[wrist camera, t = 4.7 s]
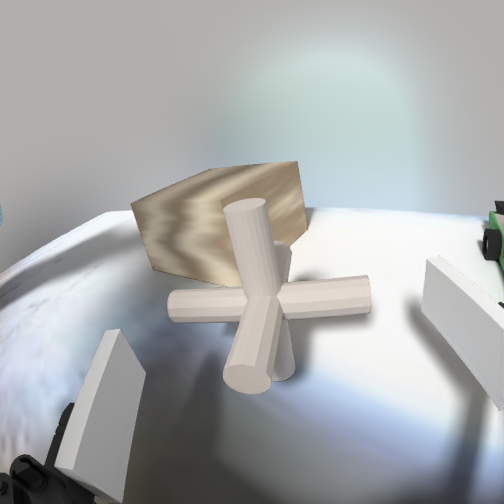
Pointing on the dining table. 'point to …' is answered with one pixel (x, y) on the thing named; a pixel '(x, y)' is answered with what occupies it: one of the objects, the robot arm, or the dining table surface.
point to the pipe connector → (264, 301)
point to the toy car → (495, 235)
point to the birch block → (216, 218)
